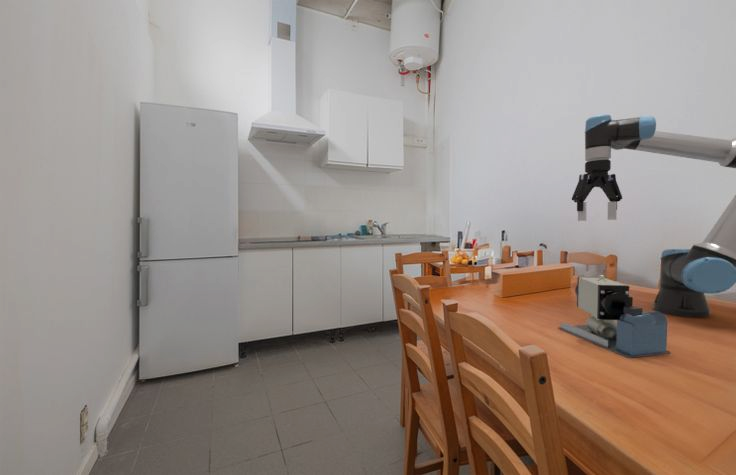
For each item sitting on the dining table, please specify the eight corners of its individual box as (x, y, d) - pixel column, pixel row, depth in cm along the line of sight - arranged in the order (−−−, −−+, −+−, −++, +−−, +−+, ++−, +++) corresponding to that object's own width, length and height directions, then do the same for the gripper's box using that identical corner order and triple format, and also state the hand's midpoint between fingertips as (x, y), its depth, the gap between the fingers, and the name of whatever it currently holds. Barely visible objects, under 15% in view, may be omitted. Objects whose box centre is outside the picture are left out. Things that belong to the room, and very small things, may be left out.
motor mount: (592, 325, 107) (593, 288, 106) (670, 353, 84) (672, 307, 84) (558, 328, 104) (558, 291, 104) (628, 358, 82) (630, 310, 81)
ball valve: (637, 347, 87) (640, 281, 86) (602, 345, 89) (604, 280, 88) (602, 325, 105) (603, 270, 104) (573, 324, 107) (574, 270, 106)
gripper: (614, 163, 124) (614, 219, 125) (560, 161, 118) (560, 221, 119) (635, 159, 117) (634, 219, 118) (578, 157, 110) (578, 220, 112)
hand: (597, 220), depth 118 cm, fingers open, 13 cm apart
